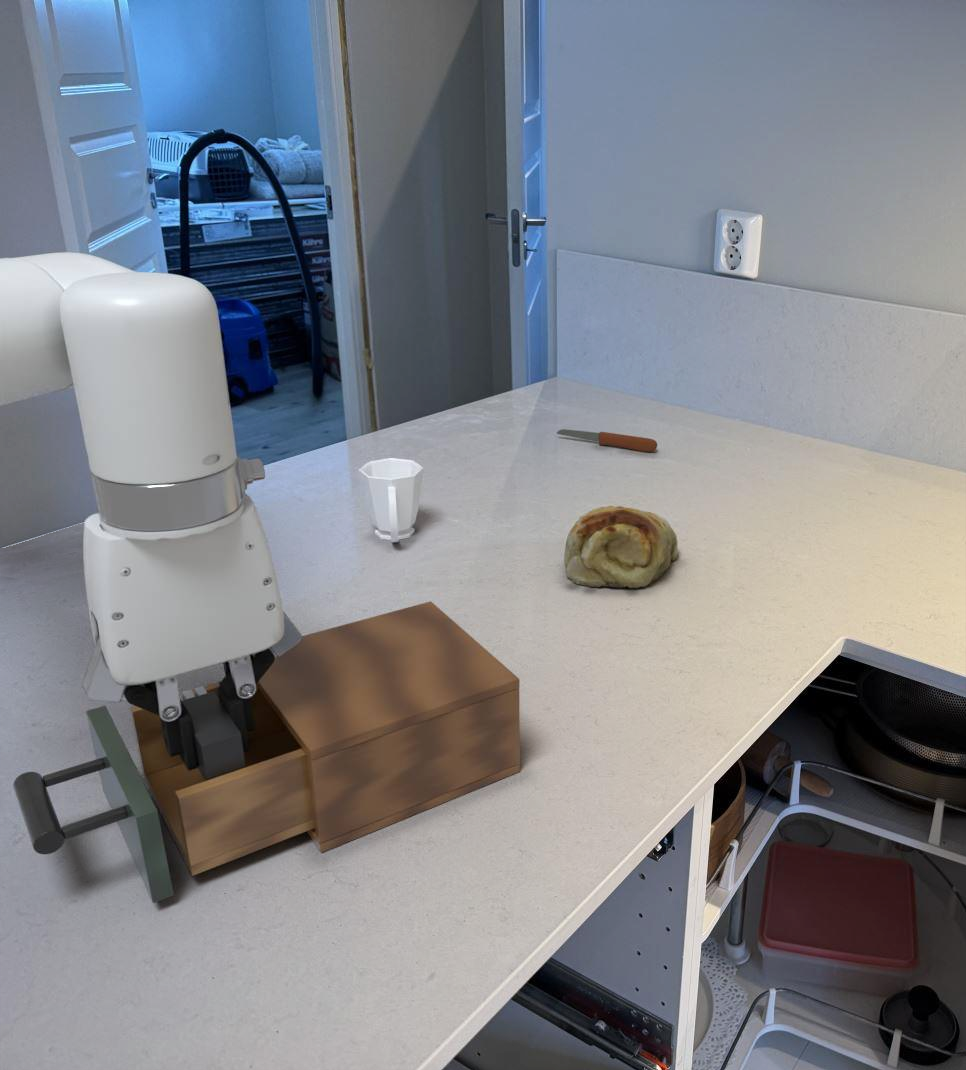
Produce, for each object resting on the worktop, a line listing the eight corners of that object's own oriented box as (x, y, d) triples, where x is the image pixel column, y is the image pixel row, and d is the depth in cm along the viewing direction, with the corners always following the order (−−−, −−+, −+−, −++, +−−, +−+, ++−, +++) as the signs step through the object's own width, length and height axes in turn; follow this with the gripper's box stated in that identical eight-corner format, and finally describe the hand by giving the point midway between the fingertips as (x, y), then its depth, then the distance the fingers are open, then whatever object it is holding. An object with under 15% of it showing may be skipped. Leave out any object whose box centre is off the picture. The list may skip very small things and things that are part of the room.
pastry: (581, 600, 104) (583, 531, 101) (546, 551, 114) (547, 487, 111) (702, 583, 110) (707, 517, 107) (659, 538, 120) (663, 476, 117)
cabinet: (321, 853, 68) (309, 750, 65) (250, 747, 78) (237, 653, 74) (520, 771, 78) (519, 678, 74) (434, 686, 87) (431, 600, 84)
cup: (425, 519, 120) (422, 456, 116) (428, 554, 111) (425, 488, 108) (363, 522, 118) (359, 458, 114) (362, 558, 109) (357, 490, 106)
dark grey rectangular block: (251, 768, 65) (246, 731, 63) (202, 786, 63) (195, 747, 62) (204, 694, 71) (198, 659, 70) (158, 707, 69) (152, 672, 68)
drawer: (59, 941, 59) (36, 851, 56) (19, 817, 68) (-2, 735, 65) (377, 814, 71) (371, 735, 68) (307, 723, 80) (299, 650, 77)
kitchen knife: (657, 451, 149) (658, 438, 148) (655, 454, 148) (655, 441, 147) (557, 437, 151) (558, 424, 150) (554, 439, 150) (555, 427, 149)
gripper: (288, 451, 65) (313, 687, 73) (-5, 497, 56) (59, 765, 63) (332, 487, 60) (355, 736, 68) (18, 545, 50) (85, 830, 58)
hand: (212, 748), depth 65 cm, fingers closed on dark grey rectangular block, 2 cm apart
